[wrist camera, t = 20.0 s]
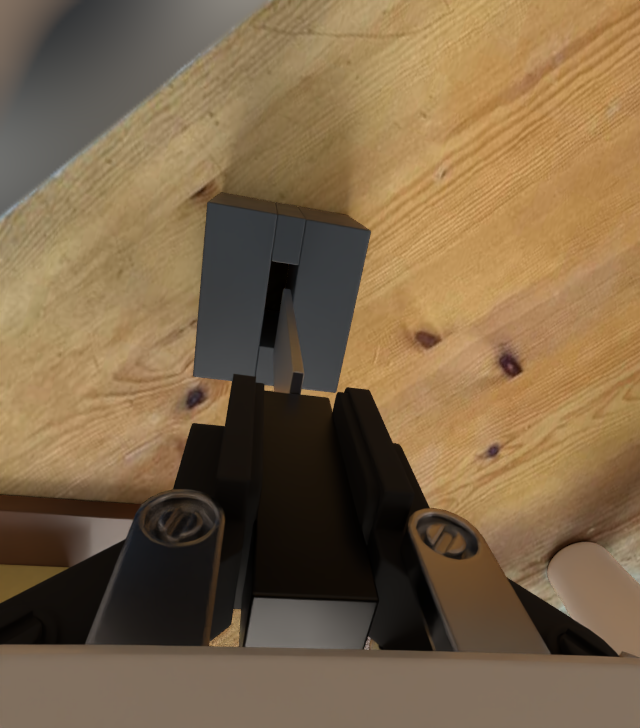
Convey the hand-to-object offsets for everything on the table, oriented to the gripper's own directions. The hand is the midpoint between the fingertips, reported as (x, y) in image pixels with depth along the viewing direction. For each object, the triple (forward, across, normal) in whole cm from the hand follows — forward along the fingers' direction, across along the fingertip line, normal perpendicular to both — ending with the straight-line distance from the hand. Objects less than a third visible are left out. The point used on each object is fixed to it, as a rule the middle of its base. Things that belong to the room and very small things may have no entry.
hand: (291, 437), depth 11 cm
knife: (+9, 0, 0) cm, 9 cm away
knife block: (+17, 0, 0) cm, 17 cm away
